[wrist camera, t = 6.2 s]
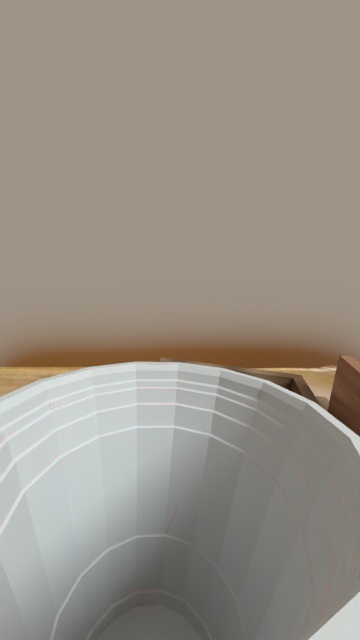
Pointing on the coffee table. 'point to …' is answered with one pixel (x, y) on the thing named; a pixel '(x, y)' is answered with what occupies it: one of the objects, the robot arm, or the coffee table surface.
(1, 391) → the coffee table surface
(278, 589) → the plastic cup
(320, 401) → the cup dock
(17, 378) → the coffee table surface
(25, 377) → the coffee table surface
